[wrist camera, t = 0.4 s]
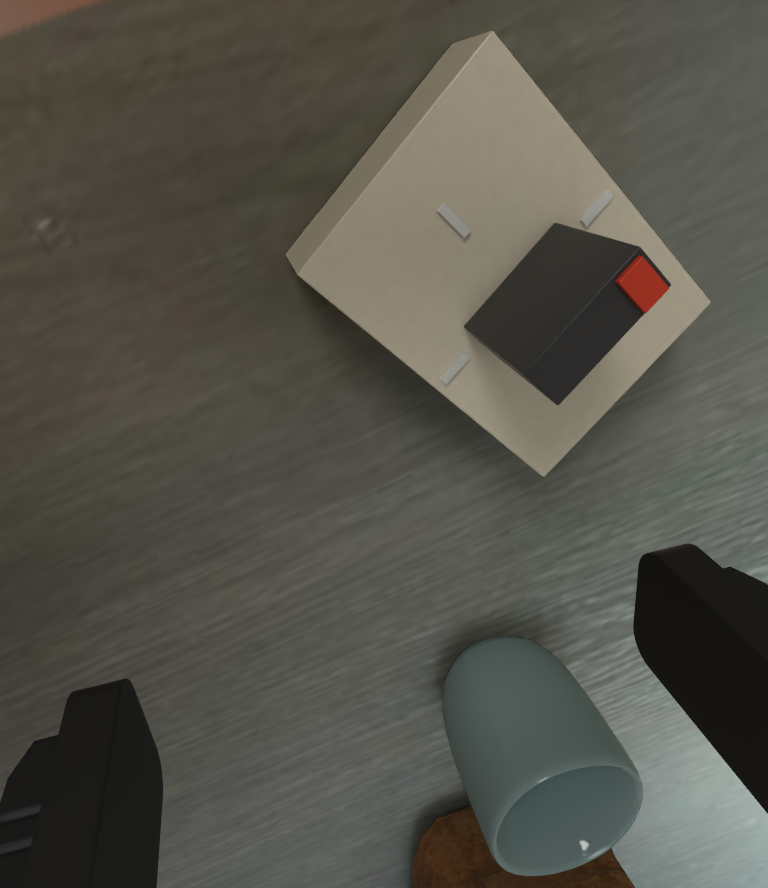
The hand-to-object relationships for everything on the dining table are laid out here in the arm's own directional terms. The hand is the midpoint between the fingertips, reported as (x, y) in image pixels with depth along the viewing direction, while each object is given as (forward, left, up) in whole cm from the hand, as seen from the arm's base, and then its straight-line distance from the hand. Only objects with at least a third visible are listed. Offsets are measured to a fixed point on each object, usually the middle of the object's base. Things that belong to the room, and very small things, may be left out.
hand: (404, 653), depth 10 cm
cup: (+22, -9, -20) cm, 31 cm away
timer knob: (+5, +7, -16) cm, 18 cm away
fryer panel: (+5, +7, -20) cm, 22 cm away
